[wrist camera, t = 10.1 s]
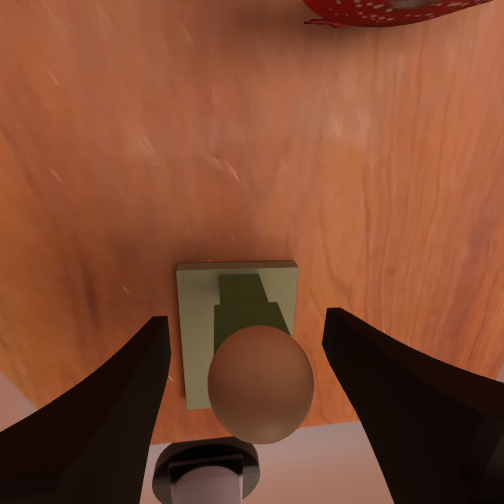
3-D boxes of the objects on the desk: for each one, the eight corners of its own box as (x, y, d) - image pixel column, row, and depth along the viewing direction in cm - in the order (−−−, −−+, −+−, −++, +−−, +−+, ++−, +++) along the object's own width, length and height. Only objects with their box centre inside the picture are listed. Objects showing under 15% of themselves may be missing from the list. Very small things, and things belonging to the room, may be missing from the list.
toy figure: (323, 464, 8) (341, 379, 7) (207, 479, 8) (202, 391, 6) (265, 294, 18) (268, 244, 16) (212, 296, 17) (210, 245, 16)
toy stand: (282, 388, 23) (286, 400, 21) (188, 397, 21) (186, 410, 20) (294, 260, 18) (299, 267, 17) (178, 263, 17) (175, 270, 16)
